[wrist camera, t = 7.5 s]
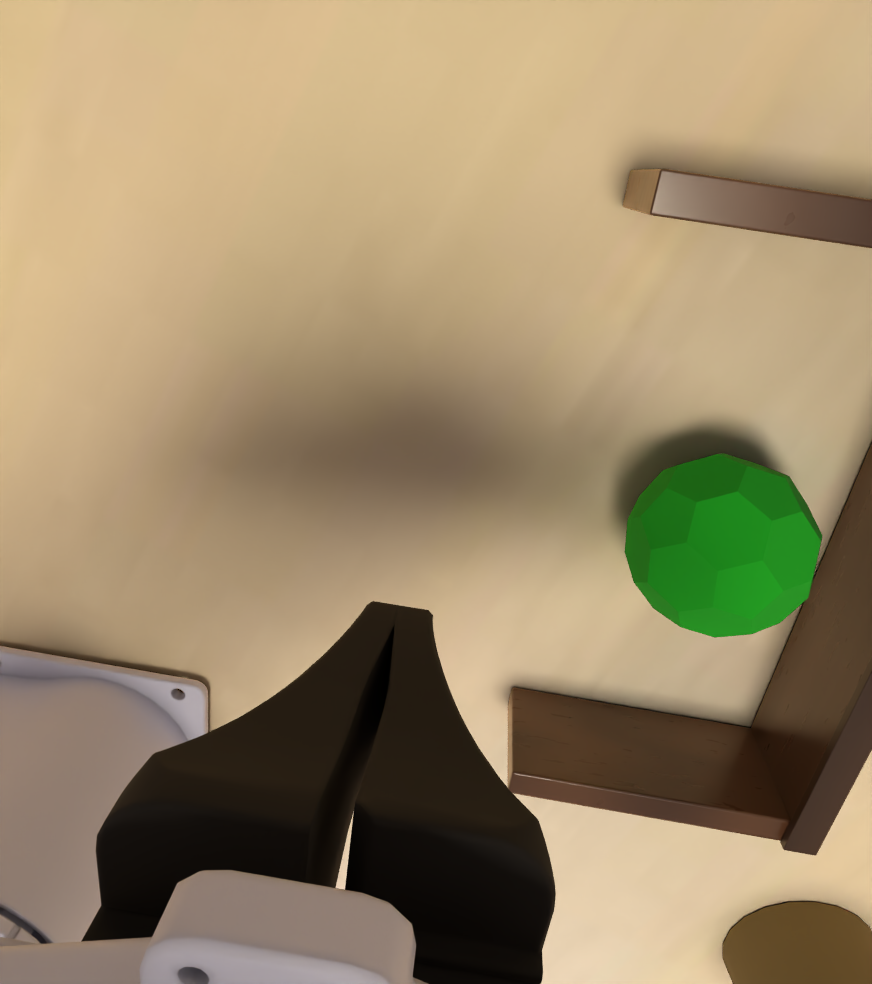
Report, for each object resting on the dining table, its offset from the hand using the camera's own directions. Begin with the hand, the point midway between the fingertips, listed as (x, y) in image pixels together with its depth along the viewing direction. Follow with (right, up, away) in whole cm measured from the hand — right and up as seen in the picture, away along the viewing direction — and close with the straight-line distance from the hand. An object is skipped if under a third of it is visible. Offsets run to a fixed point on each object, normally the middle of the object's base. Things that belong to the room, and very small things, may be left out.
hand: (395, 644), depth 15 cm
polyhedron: (+9, +3, +7) cm, 12 cm away
